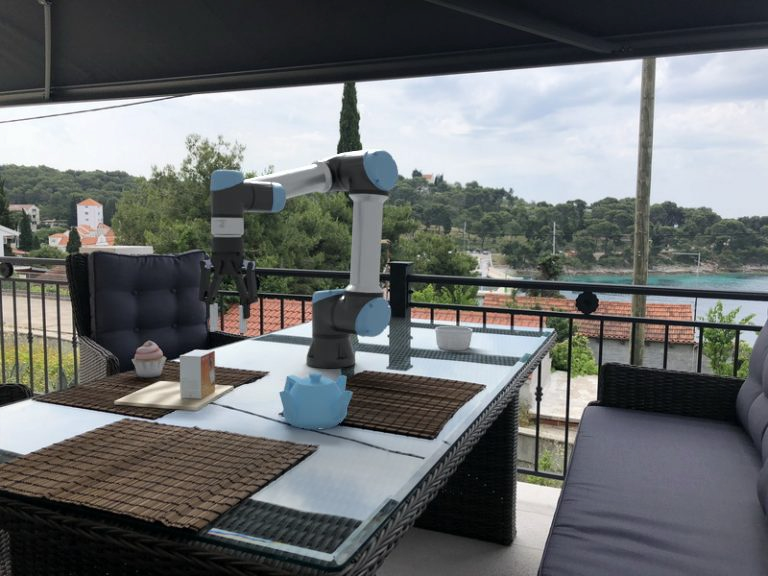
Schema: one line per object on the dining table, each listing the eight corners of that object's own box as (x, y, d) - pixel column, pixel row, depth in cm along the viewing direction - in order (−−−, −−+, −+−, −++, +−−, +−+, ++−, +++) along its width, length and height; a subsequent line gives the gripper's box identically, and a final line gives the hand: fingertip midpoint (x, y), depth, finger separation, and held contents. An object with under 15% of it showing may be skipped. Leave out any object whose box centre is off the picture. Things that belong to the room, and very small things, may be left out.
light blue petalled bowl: (349, 410, 148) (349, 365, 147) (352, 431, 133) (353, 381, 132) (283, 412, 146) (282, 366, 145) (279, 433, 131) (279, 382, 130)
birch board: (233, 388, 165) (233, 385, 165) (196, 410, 146) (196, 407, 146) (160, 383, 169) (160, 380, 169) (114, 404, 150) (114, 401, 150)
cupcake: (129, 380, 173) (128, 344, 172) (133, 372, 182) (132, 338, 181) (165, 378, 175) (165, 342, 174) (168, 370, 184) (167, 337, 183)
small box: (201, 399, 152) (200, 356, 151) (179, 398, 153) (178, 355, 152) (215, 391, 160) (215, 350, 158) (195, 389, 161) (194, 349, 160)
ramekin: (471, 345, 231) (472, 326, 231) (472, 352, 218) (473, 332, 218) (435, 343, 233) (435, 325, 232) (434, 350, 220) (434, 331, 219)
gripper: (181, 235, 149) (183, 332, 151) (260, 237, 145) (261, 336, 147) (196, 235, 156) (198, 327, 159) (272, 236, 152) (272, 330, 155)
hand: (228, 331), depth 153 cm, fingers open, 7 cm apart
